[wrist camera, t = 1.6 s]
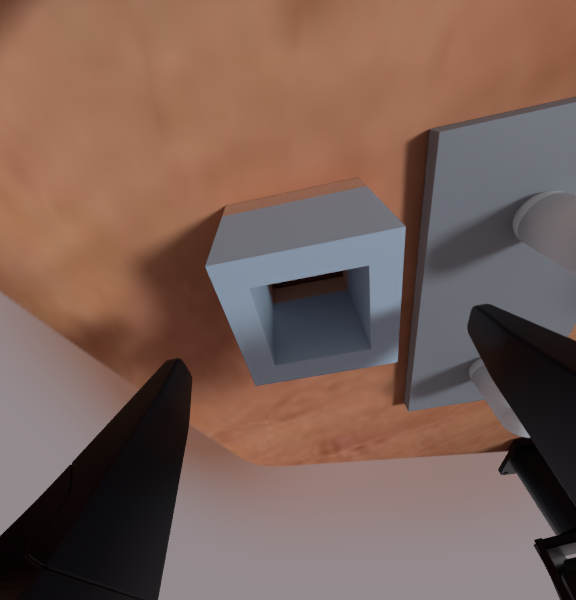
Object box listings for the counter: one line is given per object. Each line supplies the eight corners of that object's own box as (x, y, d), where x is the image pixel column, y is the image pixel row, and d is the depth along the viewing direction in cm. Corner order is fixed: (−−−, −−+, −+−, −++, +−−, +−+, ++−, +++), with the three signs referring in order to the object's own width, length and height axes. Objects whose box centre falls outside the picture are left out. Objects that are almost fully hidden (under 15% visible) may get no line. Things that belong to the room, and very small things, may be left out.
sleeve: (363, 288, 15) (397, 362, 11) (258, 307, 15) (255, 386, 11) (358, 177, 12) (405, 226, 8) (225, 205, 12) (205, 266, 8)
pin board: (529, 382, 21) (595, 457, 17) (404, 401, 22) (437, 479, 17) (688, 71, 10) (986, 64, 6) (429, 128, 11) (533, 159, 7)
